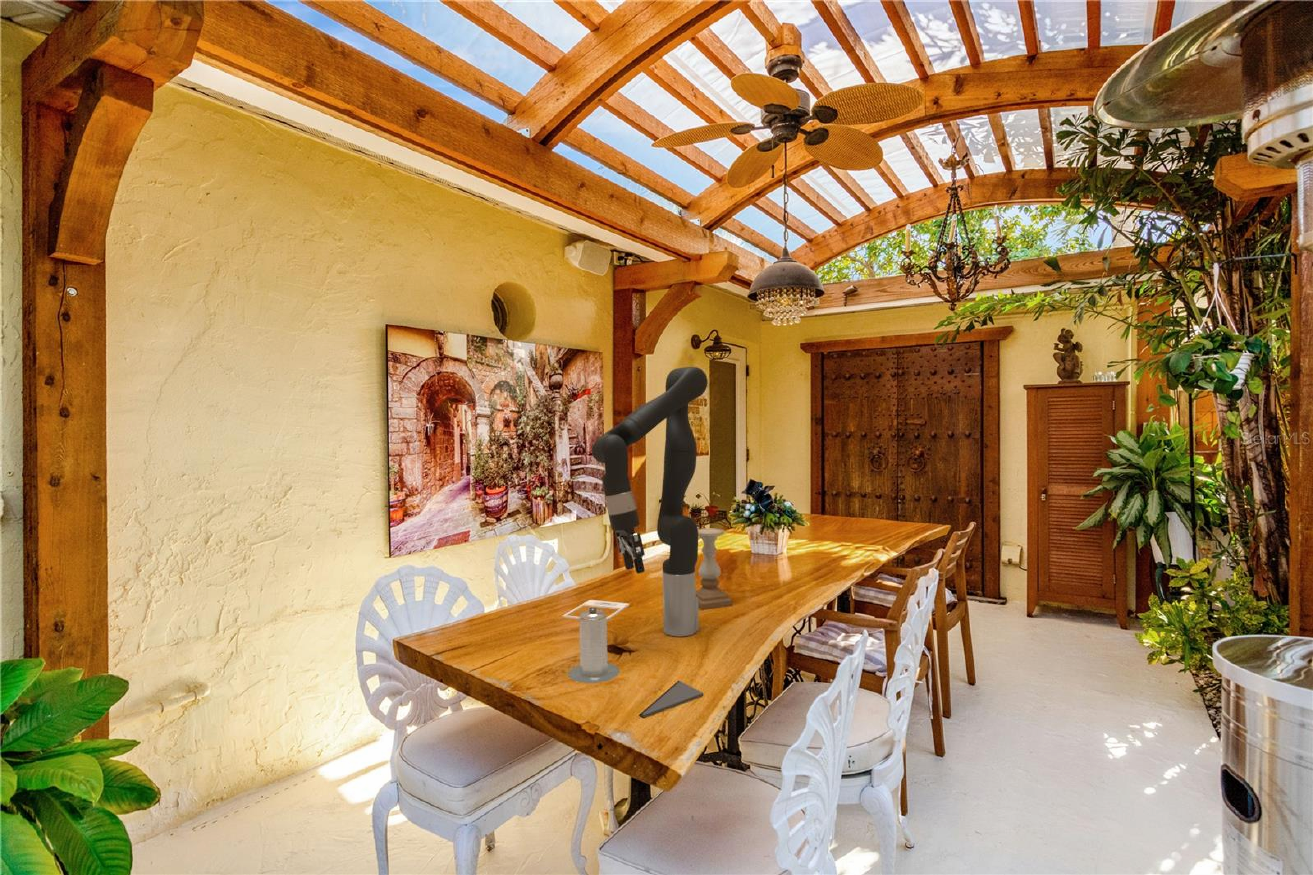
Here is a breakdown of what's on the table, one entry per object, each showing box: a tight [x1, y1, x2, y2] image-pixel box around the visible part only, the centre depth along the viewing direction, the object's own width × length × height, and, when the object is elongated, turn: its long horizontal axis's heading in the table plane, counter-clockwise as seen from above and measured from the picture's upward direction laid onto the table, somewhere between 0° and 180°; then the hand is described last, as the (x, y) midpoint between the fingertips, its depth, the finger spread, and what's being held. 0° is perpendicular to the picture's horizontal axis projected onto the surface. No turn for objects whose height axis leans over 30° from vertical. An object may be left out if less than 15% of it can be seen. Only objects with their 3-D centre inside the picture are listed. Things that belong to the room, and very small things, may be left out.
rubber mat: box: [638, 680, 704, 719], centre depth 134 cm, size 16×16×1 cm
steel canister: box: [578, 607, 609, 678], centre depth 143 cm, size 6×6×15 cm
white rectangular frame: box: [562, 599, 630, 621], centre depth 194 cm, size 15×1×18 cm
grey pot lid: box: [567, 662, 621, 684], centre depth 143 cm, size 12×12×3 cm
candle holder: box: [695, 527, 733, 610], centre depth 200 cm, size 11×11×24 cm
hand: (635, 570), depth 160 cm, fingers open, 8 cm apart
